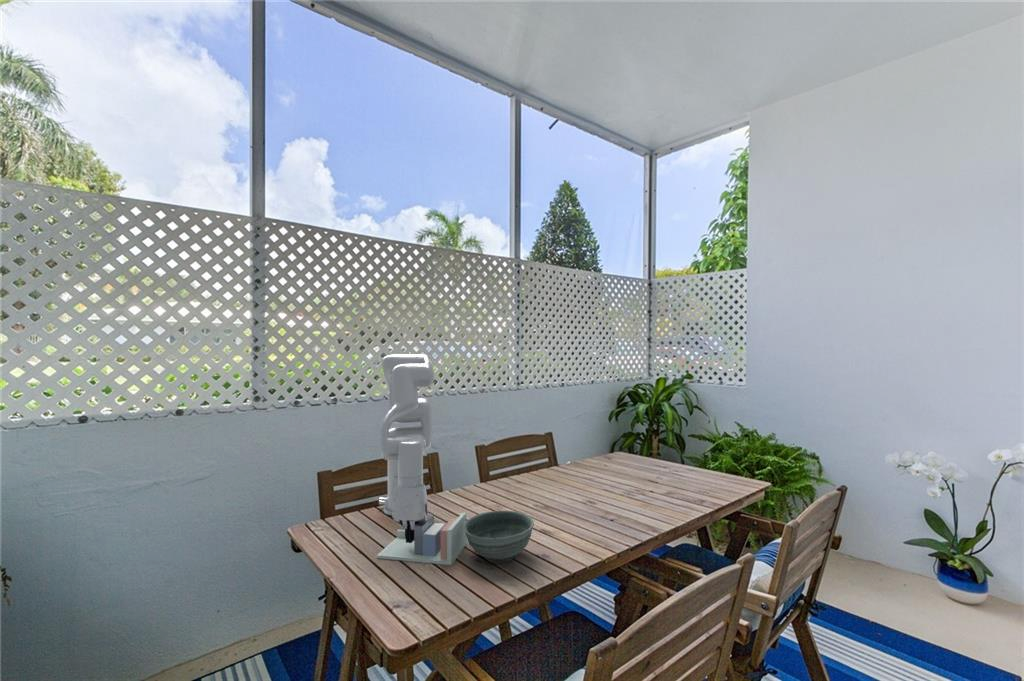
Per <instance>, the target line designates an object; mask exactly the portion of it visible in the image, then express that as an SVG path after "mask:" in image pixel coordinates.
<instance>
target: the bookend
mask: <svg viewBox="0 0 1024 681" xmlns="http://www.w3.org/2000/svg"><path fill="white" fill-rule="evenodd" d="M427 519H428V520H427V521H426V522H424V521H419V522H418V523H417V524H416V525H415V526H414V554H422V534H423V533H424V532H425V531H426V530H427V529H428V528H429V527H430V526H431V525H432V524H433V523H435V515H434V514H433V515H431V514H430V515H429V514H427Z"/></svg>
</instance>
